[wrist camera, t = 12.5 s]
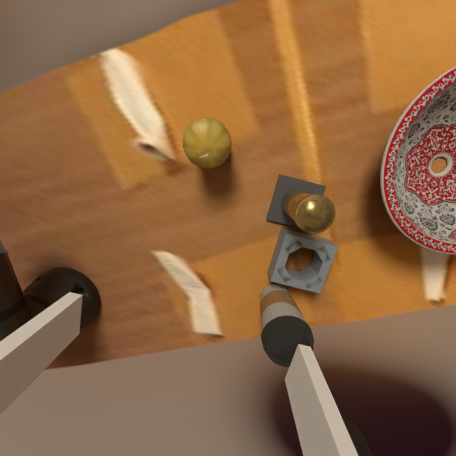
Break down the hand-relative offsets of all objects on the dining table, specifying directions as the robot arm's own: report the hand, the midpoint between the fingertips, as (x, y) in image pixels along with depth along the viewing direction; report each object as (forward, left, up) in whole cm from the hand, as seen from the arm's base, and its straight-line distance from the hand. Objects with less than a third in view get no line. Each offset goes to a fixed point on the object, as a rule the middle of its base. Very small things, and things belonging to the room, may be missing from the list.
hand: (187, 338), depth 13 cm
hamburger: (-5, +13, -33) cm, 36 cm away
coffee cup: (+15, -14, -33) cm, 39 cm away
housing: (+17, -3, -33) cm, 37 cm away
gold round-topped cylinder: (+12, +7, -32) cm, 35 cm away
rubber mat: (+13, +7, -33) cm, 36 cm away
